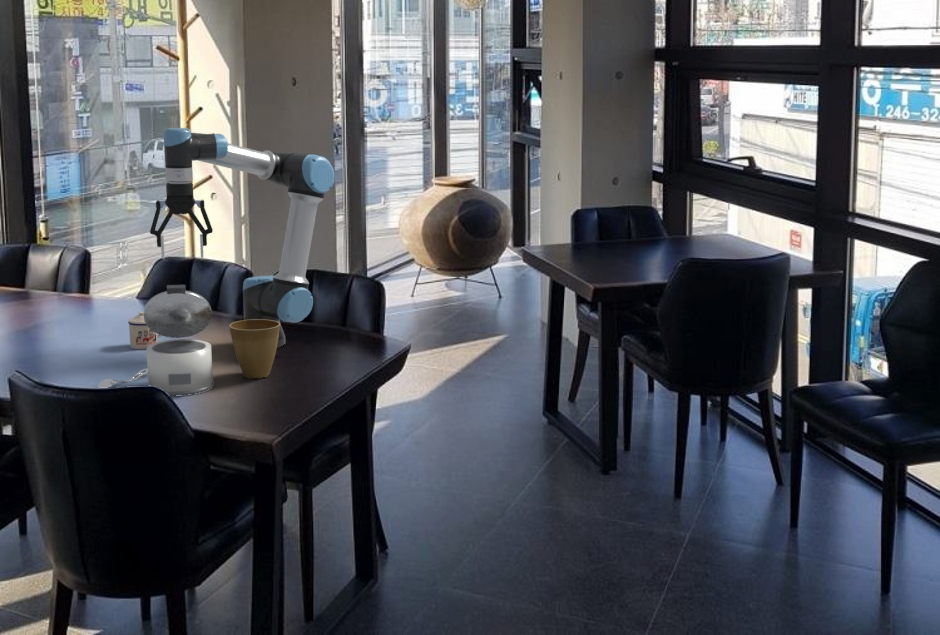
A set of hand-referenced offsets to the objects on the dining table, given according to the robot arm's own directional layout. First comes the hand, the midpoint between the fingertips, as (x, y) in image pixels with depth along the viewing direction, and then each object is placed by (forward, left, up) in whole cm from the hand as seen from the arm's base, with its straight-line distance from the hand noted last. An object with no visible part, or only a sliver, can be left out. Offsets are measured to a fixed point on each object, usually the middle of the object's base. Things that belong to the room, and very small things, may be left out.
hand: (182, 257), depth 324 cm
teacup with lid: (+13, -37, -36) cm, 53 cm away
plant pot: (-20, +5, -36) cm, 42 cm away
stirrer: (+18, +5, -36) cm, 41 cm away
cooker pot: (+2, +13, -36) cm, 38 cm away
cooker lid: (+2, +9, -15) cm, 18 cm away
